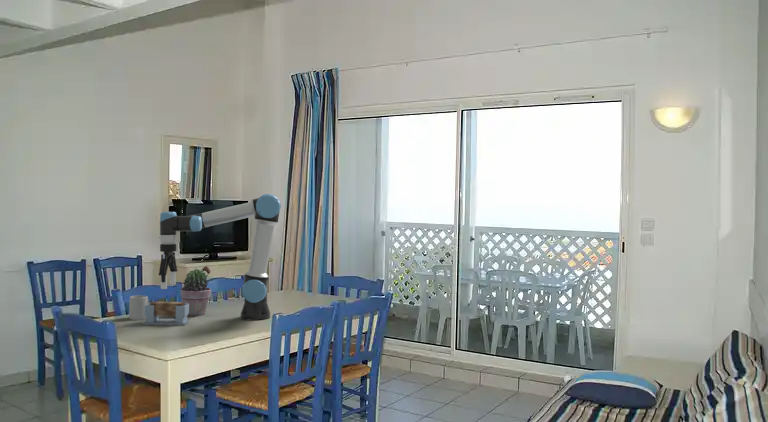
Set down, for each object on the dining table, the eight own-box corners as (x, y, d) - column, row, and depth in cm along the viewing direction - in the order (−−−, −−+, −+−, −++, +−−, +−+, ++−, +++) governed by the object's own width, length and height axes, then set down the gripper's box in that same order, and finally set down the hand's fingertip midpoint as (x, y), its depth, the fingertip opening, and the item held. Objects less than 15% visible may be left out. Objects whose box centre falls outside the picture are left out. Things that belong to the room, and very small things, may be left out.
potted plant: (167, 315, 321) (168, 267, 321) (192, 310, 339) (193, 264, 339) (195, 319, 315) (196, 270, 314) (219, 313, 333) (220, 266, 332)
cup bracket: (190, 321, 309) (190, 303, 309) (184, 325, 299) (184, 306, 299) (149, 320, 308) (149, 302, 308) (142, 324, 298) (142, 306, 298)
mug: (140, 320, 308) (140, 298, 308) (125, 319, 310) (125, 297, 310) (154, 316, 320) (155, 294, 320) (140, 315, 322) (140, 293, 322)
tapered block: (183, 314, 306) (184, 302, 306) (181, 316, 302) (181, 303, 302) (153, 313, 306) (153, 301, 306) (149, 315, 301) (150, 303, 301)
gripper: (168, 241, 315) (168, 283, 316) (151, 245, 290) (151, 290, 291) (183, 241, 316) (183, 283, 316) (168, 245, 291) (168, 290, 291)
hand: (168, 286), depth 303 cm, fingers open, 13 cm apart
